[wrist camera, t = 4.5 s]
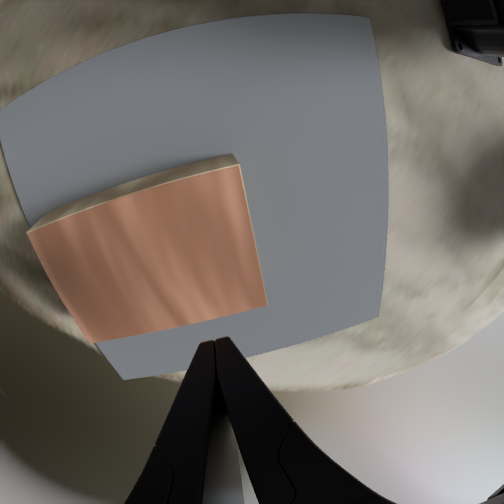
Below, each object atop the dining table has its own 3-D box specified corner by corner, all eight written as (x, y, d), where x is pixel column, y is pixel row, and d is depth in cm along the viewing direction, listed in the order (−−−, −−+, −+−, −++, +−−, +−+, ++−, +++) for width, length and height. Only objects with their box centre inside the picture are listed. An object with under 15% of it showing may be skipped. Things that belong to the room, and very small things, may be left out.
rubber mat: (365, 18, 10) (369, 17, 10) (376, 313, 20) (378, 316, 20) (-2, 113, 9) (-6, 114, 9) (124, 375, 19) (123, 379, 19)
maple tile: (239, 164, 10) (25, 233, 10) (268, 305, 14) (90, 344, 13) (232, 153, 13) (48, 212, 12) (258, 277, 16) (99, 314, 16)
